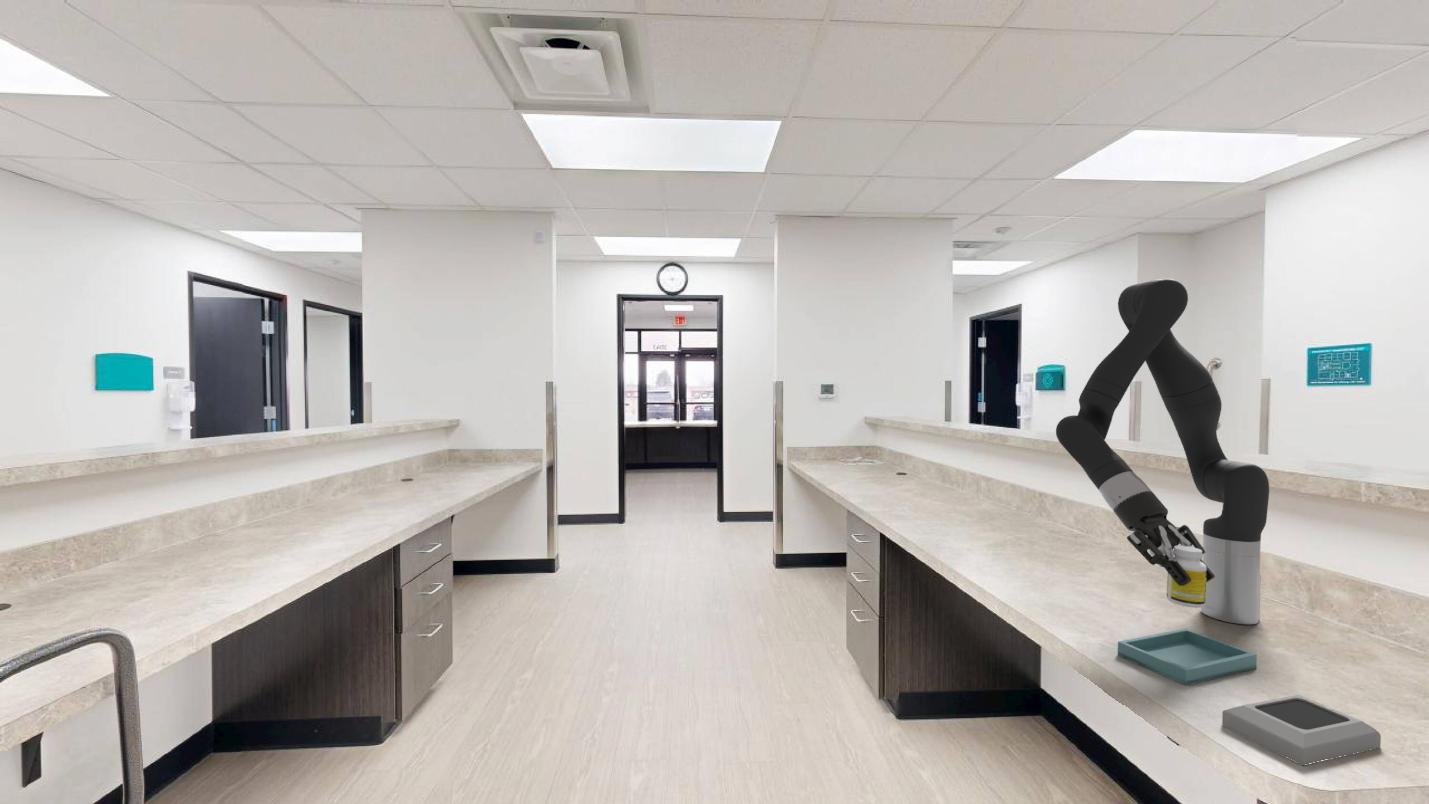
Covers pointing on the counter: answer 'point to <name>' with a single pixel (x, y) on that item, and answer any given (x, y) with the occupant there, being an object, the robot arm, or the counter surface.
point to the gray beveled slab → (1301, 729)
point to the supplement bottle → (1196, 570)
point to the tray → (1187, 656)
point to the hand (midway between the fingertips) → (1197, 581)
